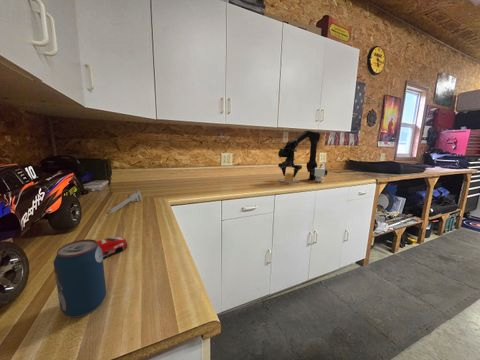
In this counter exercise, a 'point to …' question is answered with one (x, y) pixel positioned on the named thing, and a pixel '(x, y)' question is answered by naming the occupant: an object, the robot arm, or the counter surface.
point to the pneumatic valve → (319, 173)
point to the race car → (112, 246)
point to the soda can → (80, 277)
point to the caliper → (134, 196)
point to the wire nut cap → (289, 177)
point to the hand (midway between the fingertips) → (288, 176)
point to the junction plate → (288, 181)
